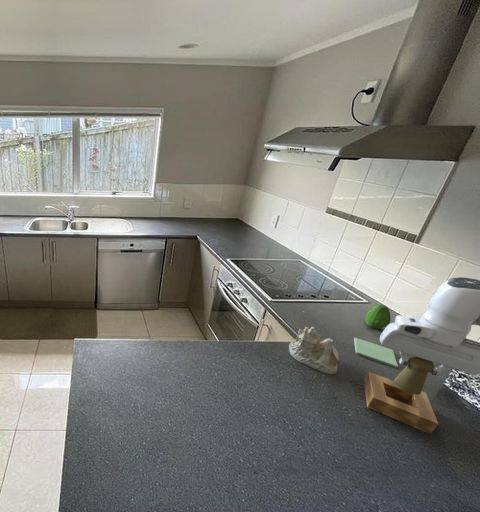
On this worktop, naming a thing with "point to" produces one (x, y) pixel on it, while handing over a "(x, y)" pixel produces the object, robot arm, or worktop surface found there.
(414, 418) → the holder
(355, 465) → the worktop surface
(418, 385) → the cork
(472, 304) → the robot arm
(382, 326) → the avocado
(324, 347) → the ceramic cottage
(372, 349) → the mat
